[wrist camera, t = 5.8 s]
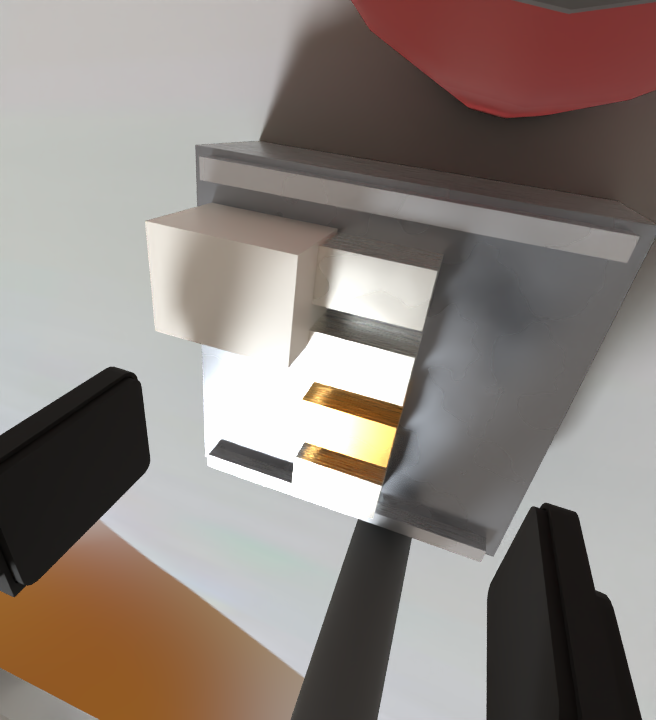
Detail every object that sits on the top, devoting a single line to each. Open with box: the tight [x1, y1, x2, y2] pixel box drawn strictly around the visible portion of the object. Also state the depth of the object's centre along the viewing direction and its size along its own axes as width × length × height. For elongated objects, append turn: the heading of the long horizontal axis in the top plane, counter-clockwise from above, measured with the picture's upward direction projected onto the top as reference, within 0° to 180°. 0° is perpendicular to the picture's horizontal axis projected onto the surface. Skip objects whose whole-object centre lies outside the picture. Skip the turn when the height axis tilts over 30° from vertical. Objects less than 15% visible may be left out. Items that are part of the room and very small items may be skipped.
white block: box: [145, 203, 338, 369], centre depth 12 cm, size 4×3×3 cm
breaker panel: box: [195, 141, 656, 562], centre depth 15 cm, size 12×12×6 cm
